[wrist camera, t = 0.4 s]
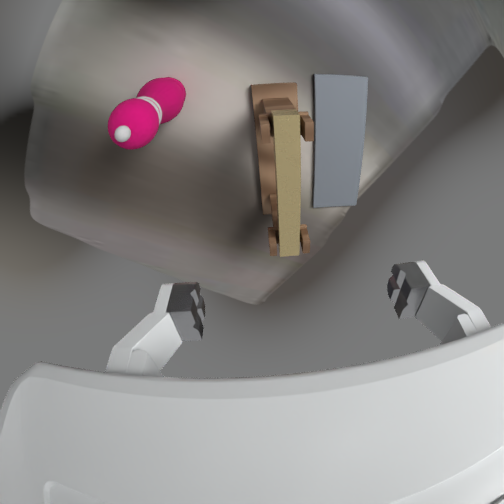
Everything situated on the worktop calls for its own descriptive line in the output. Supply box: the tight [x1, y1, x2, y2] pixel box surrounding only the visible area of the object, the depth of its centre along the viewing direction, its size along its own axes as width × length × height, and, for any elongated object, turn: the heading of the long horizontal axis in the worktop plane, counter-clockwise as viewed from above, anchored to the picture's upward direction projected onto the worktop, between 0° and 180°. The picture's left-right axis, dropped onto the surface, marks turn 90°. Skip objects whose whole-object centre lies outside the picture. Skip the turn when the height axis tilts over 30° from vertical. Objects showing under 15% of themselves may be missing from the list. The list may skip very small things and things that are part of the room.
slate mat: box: [313, 74, 368, 208], centre depth 45 cm, size 26×9×1 cm, turn 5°
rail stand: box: [251, 83, 314, 256], centre depth 41 cm, size 25×7×15 cm, turn 5°
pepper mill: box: [108, 77, 186, 149], centre depth 31 cm, size 7×7×20 cm
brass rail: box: [271, 109, 301, 257], centre depth 37 cm, size 22×3×2 cm, turn 5°
